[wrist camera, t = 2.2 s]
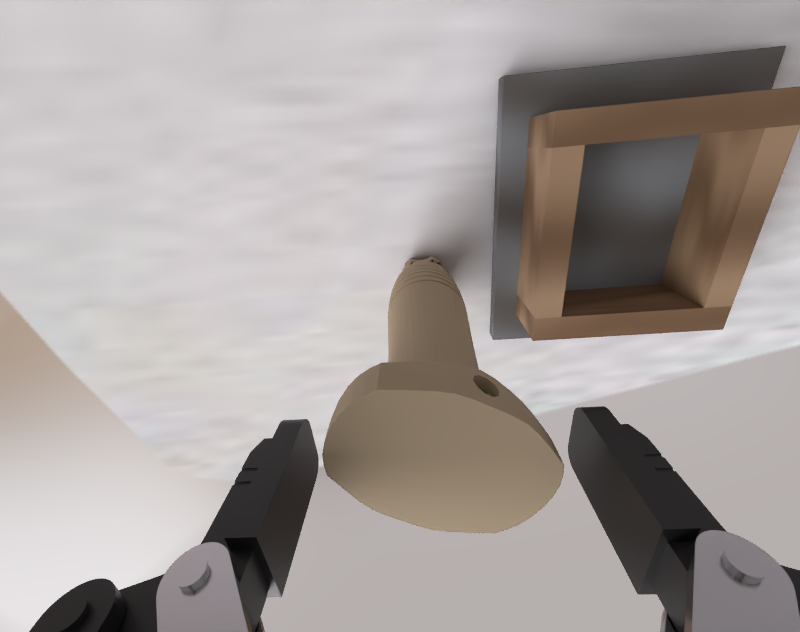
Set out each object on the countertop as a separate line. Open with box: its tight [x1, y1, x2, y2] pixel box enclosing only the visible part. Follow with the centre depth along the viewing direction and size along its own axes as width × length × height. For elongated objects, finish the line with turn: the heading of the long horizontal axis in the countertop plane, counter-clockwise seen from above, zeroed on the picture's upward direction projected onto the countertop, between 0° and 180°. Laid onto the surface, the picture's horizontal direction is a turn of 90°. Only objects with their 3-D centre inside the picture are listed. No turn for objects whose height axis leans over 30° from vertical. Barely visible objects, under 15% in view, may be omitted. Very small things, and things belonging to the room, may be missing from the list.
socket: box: [490, 46, 800, 341], centre depth 18 cm, size 15×13×4 cm
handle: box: [322, 257, 564, 533], centre depth 16 cm, size 5×6×15 cm
